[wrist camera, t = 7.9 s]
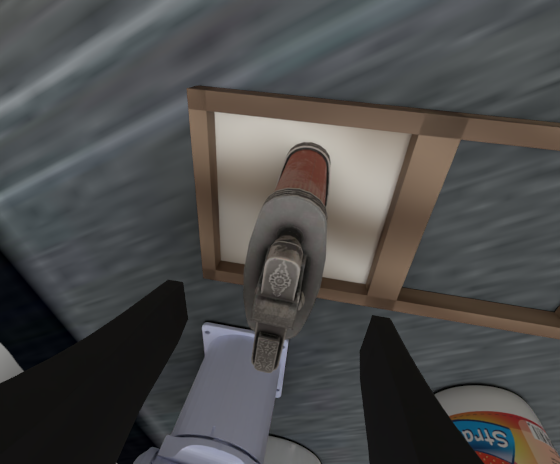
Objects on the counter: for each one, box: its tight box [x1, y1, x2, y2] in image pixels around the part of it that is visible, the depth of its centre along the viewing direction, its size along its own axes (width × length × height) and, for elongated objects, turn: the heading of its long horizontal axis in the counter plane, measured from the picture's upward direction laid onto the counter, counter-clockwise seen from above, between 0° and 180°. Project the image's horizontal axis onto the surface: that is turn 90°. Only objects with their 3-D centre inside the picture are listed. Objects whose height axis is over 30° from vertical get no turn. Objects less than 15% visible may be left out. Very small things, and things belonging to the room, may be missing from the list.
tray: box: [187, 86, 560, 339], centre depth 18 cm, size 13×26×2 cm, turn 86°
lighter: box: [243, 142, 331, 373], centre depth 15 cm, size 8×3×10 cm, turn 172°
